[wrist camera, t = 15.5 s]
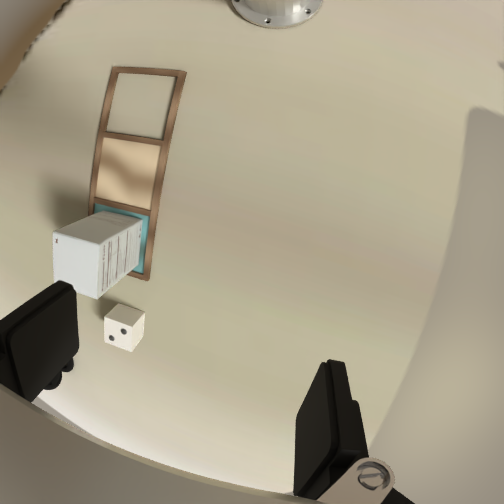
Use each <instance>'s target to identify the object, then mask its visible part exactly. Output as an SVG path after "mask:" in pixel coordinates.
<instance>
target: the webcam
mask: <svg viewBox="0 0 504 504" xmlns="http://www.w3.org/2000/svg"><path fill="white" fill-rule="evenodd" d="M73 366H74V362H73V358H72V359H71V360H70V361H69V362H68V363H67V365H66V366H64V367H63V368H62V369H61V370H60V371H59V373H58V374H57V375H56V376H55V377H54V378H53V379H52V380H51V381H50V382H49V383H48V385H47V386H46V387H45V388H44V389H45V390H52V389H55V388H56V387H58V386H59V384H60V382H61V380H62V372H69V371H71V370H72V369H73Z"/></svg>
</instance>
